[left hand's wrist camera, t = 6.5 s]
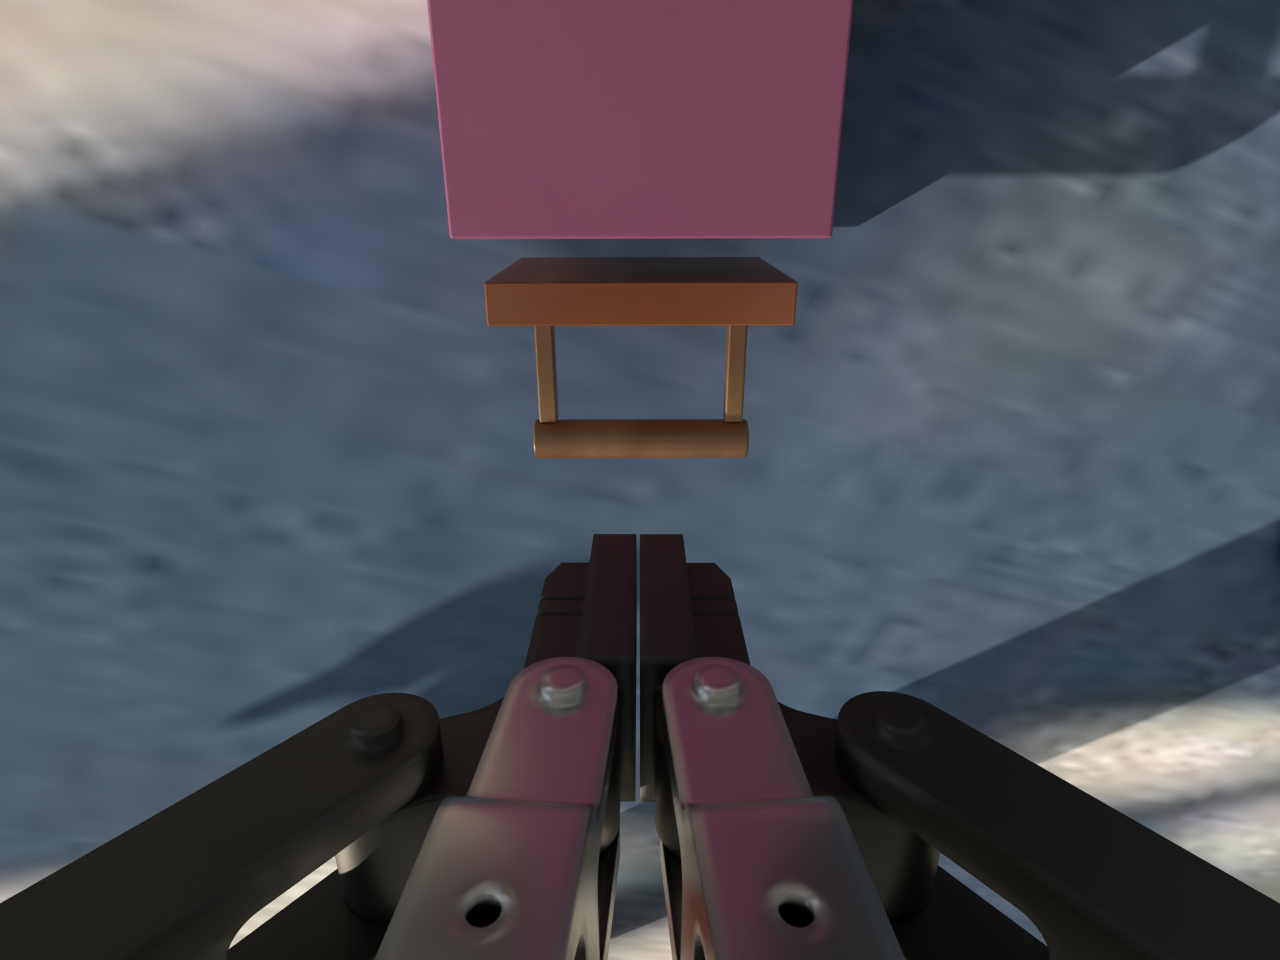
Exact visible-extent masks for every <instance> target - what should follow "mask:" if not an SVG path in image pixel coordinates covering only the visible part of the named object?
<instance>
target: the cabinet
mask: <svg viewBox="0 0 1280 960" xmlns="http://www.w3.org/2000/svg"><path fill="white" fill-rule="evenodd" d="M853 1H854V0H427V3H428V14H429V24H430V34H431V45H432V55H433V66H434V76H435V87H436V97H437V108H438V118H439V128H440V139H441V149H442V160H443V170H444V181H445V191H446V202H447V212H448V222H449V233H450V237H451V238H452V239H705V238H830V237H831V236H832V229H833V218H834V207H835V196H836V185H837V175H838V164H839V153H840V142H841V131H842V120H843V109H844V99H845V88H846V77H847V66H848V55H849V44H850V33H851V22H852V12H853Z"/></svg>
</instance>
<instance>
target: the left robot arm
mask: <svg viewBox="0 0 1280 960" xmlns="http://www.w3.org/2000/svg"><path fill="white" fill-rule="evenodd" d="M635 766H636V534H594V535H593V542H592V550H591V557H590V563H561V564H560V565H559V566H558V567H557V568H556V569H555V570H554V571H553V572H552V573H551V574H550V575H549V576H548V577H547V578H546V579H545V583H544V587H543V591H542V596H541V600H540V604H539V608H538V616H537V617H536V621H535V625H534V629H533V633H532V637H531V642H530V646H529V650H528V654H527V658H526V663H525V667H524V669H523V670H522V671H520V672H519V673H518V674H517V675H516V676H515V677H514V678H513V679H512V681H511V682H510V684H509V686H508V688H507V691H506V694H505V696H504V697H503V698H502V699H500V700H499V701H497V702H495V703H493V704H491V705H489V706H487V707H484V708H482V709H479V710H476V711H472V712H469V713H465V714H460V715H456V716H451V717H447V718H442V719H439V716H438V713H437V710H436V709H435V708H434V706H433V705H432V704H431V703H429V702H428V701H427V700H425V699H423V698H421V697H419V696H415V695H412V694H406V693H385V694H379V695H373V696H370V697H366V698H363V699H360V700H358V701H355V702H353V703H351V704H349V705H347V706H345V707H343V708H341V709H340V710H338V711H336V712H334V713H333V714H331V715H329V716H327V717H326V718H324V719H322V720H320V721H319V722H317V723H315V724H313V725H312V726H310V727H308V728H306V729H305V730H303V731H301V732H299V733H298V734H296V735H294V736H292V737H291V738H289V739H287V740H285V741H284V742H282V743H280V744H278V745H277V746H275V747H273V748H271V749H270V750H268V751H266V752H264V753H263V754H261V755H259V756H257V757H256V758H254V759H252V760H250V761H249V762H247V763H245V764H243V765H242V766H240V767H238V768H236V769H235V770H233V771H231V772H229V773H228V774H226V775H224V776H222V777H221V778H219V779H217V780H215V781H214V782H212V783H210V784H208V785H207V786H205V787H203V788H201V789H200V790H198V791H196V792H194V793H193V794H191V795H189V796H187V797H186V798H184V799H182V800H180V801H179V802H177V803H175V804H173V805H172V806H170V807H168V808H166V809H165V810H163V811H161V812H159V813H158V814H156V815H154V816H152V817H151V818H149V819H147V820H145V821H144V822H142V823H140V824H138V825H137V826H135V827H133V828H131V829H130V830H128V831H126V832H124V833H123V834H121V835H119V836H117V837H116V838H114V839H112V840H110V841H109V842H107V843H105V844H103V845H102V846H100V847H98V848H96V849H95V850H93V851H91V852H89V853H88V854H86V855H84V856H82V857H81V858H79V859H77V860H75V861H74V862H72V863H70V864H68V865H67V866H65V867H63V868H61V869H60V870H58V871H56V872H54V873H53V874H51V875H49V876H47V877H46V878H44V879H42V880H40V881H39V882H37V883H35V884H33V885H32V886H30V887H28V888H26V889H25V890H23V891H21V892H19V893H18V894H16V895H14V896H12V897H11V898H9V899H7V900H5V901H4V902H2V903H0V960H607V959H608V951H609V942H610V934H611V926H612V917H613V909H614V900H615V892H616V883H617V875H618V866H619V858H620V823H619V822H620V801H635ZM640 802H655V823H656V830H657V832H658V835H659V837H660V858H661V867H662V875H663V883H664V892H665V900H666V909H667V917H668V926H669V934H670V942H671V951H672V959H673V960H1280V903H1278V902H1276V901H1274V900H1273V899H1271V898H1269V897H1267V896H1266V895H1264V894H1262V893H1260V892H1259V891H1257V890H1255V889H1253V888H1252V887H1250V886H1248V885H1246V884H1245V883H1243V882H1241V881H1239V880H1238V879H1236V878H1234V877H1232V876H1231V875H1229V874H1227V873H1225V872H1224V871H1222V870H1220V869H1218V868H1217V867H1215V866H1213V865H1211V864H1210V863H1208V862H1206V861H1205V860H1203V859H1201V858H1199V857H1198V856H1196V855H1194V854H1192V853H1191V852H1189V851H1187V850H1185V849H1184V848H1182V847H1180V846H1178V845H1177V844H1175V843H1173V842H1171V841H1170V840H1168V839H1166V838H1164V837H1163V836H1161V835H1159V834H1157V833H1156V832H1154V831H1152V830H1150V829H1149V828H1147V827H1145V826H1143V825H1142V824H1140V823H1138V822H1136V821H1135V820H1133V819H1131V818H1129V817H1128V816H1126V815H1124V814H1122V813H1121V812H1119V811H1117V810H1115V809H1114V808H1112V807H1110V806H1108V805H1107V804H1105V803H1103V802H1101V801H1100V800H1098V799H1096V798H1094V797H1093V796H1091V795H1089V794H1087V793H1086V792H1084V791H1082V790H1080V789H1079V788H1077V787H1075V786H1073V785H1072V784H1070V783H1068V782H1066V781H1065V780H1063V779H1061V778H1059V777H1058V776H1056V775H1054V774H1052V773H1051V772H1049V771H1047V770H1045V769H1044V768H1042V767H1040V766H1038V765H1037V764H1035V763H1033V762H1031V761H1030V760H1028V759H1026V758H1024V757H1023V756H1021V755H1019V754H1017V753H1016V752H1014V751H1012V750H1010V749H1009V748H1007V747H1005V746H1003V745H1002V744H1000V743H998V742H996V741H995V740H993V739H991V738H989V737H988V736H986V735H984V734H982V733H981V732H979V731H977V730H975V729H974V728H972V727H970V726H968V725H967V724H965V723H963V722H961V721H960V720H958V719H956V718H954V717H953V716H951V715H949V714H947V713H946V712H944V711H942V710H940V709H939V708H937V707H935V706H933V705H931V704H929V703H927V702H926V701H924V700H921V699H918V698H916V697H913V696H909V695H906V694H902V693H896V692H886V691H876V692H868V693H863V694H860V695H857V696H855V697H853V698H851V699H850V700H848V701H847V702H846V703H845V704H844V705H843V707H842V708H841V710H840V712H839V716H838V720H835V719H831V718H827V717H822V716H818V715H813V714H809V713H805V712H801V711H798V710H795V709H792V708H790V707H787V706H785V705H783V704H781V703H779V702H778V701H777V699H776V696H775V694H774V691H773V688H772V686H771V684H770V682H769V681H768V679H767V678H766V677H765V676H764V675H763V674H762V673H761V672H760V671H758V670H757V669H755V668H754V667H752V666H750V661H749V657H748V653H747V648H746V644H745V640H744V635H743V631H742V627H741V622H740V618H739V616H738V609H737V605H736V600H735V596H734V592H733V587H732V583H731V579H730V578H729V577H728V576H727V575H726V574H725V573H724V572H723V571H722V570H721V569H720V568H719V567H718V566H717V565H716V564H715V563H686V557H685V549H684V541H683V535H682V534H640ZM940 852H941V853H942V854H944V855H945V856H946V857H948V858H949V859H950V860H952V861H953V862H955V863H956V864H957V865H959V866H960V867H961V868H963V869H964V870H966V871H967V872H968V873H970V874H971V875H972V876H974V877H975V878H977V879H978V880H979V881H981V882H982V883H983V884H985V885H986V886H988V887H989V888H990V889H992V890H993V891H994V892H996V893H997V894H999V895H1000V896H1001V897H1003V898H1004V899H1006V900H1007V901H1008V902H1010V903H1011V904H1012V905H1014V906H1015V907H1017V908H1018V909H1019V910H1020V911H1022V912H1023V913H1024V914H1025V915H1026V916H1027V917H1028V918H1029V919H1030V920H1031V921H1032V922H1033V923H1034V924H1035V926H1036V927H1037V928H1038V930H1039V931H1040V932H1041V934H1042V936H1043V938H1044V939H1045V942H1046V944H1047V946H1048V947H1047V946H1046V945H1045V944H1043V943H1042V942H1041V941H1039V940H1038V939H1037V938H1035V937H1034V936H1032V935H1031V934H1030V933H1028V932H1027V931H1026V930H1024V929H1023V928H1022V927H1020V926H1019V925H1018V924H1016V923H1015V922H1014V921H1012V920H1011V919H1010V918H1008V917H1007V916H1006V915H1004V914H1003V913H1002V912H1000V911H999V910H997V909H996V908H995V907H993V906H992V905H991V904H989V903H988V902H987V901H985V900H984V899H983V898H981V897H980V896H979V895H977V894H976V893H975V892H973V891H972V890H971V889H969V888H968V887H967V886H965V885H964V884H962V883H961V882H960V881H958V880H957V879H956V878H954V877H953V876H952V875H950V874H949V873H948V872H946V871H945V870H944V869H942V868H941V867H940V866H938V860H939V855H940ZM334 856H335V858H336V863H337V867H338V869H336V870H335V871H334V872H332V873H331V874H330V875H328V876H327V877H326V878H324V879H323V880H322V881H320V882H319V883H317V884H316V885H315V886H313V887H312V888H311V889H309V890H308V891H307V892H305V893H304V894H303V895H301V896H300V897H299V898H297V899H296V900H295V901H293V902H292V903H291V904H289V905H288V906H287V907H285V908H284V909H283V910H281V911H280V912H278V913H277V914H276V915H274V916H273V917H272V918H270V919H269V920H268V921H266V922H265V923H264V924H262V925H261V926H260V927H258V928H257V929H256V930H254V931H253V932H252V933H250V934H249V935H248V936H246V937H245V938H243V939H242V940H241V941H239V942H238V943H237V944H235V945H234V946H233V947H231V948H230V949H229V947H230V944H231V942H232V940H233V939H234V937H235V935H236V934H237V932H238V931H239V930H240V928H241V927H242V926H243V925H244V924H245V923H246V922H247V921H248V920H249V919H250V918H251V917H252V916H253V915H254V914H255V913H257V912H258V911H259V910H261V909H262V908H263V907H265V906H266V905H268V904H269V903H270V902H272V901H273V900H274V899H276V898H277V897H279V896H280V895H281V894H283V893H284V892H285V891H287V890H288V889H290V888H291V887H292V886H294V885H295V884H296V883H298V882H299V881H301V880H302V879H303V878H305V877H306V876H307V875H309V874H310V873H312V872H313V871H314V870H316V869H317V868H318V867H320V866H321V865H323V864H324V863H325V862H327V861H328V860H330V859H331V858H332V857H334ZM228 949H229V950H228Z"/></svg>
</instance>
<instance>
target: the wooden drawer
mask: <svg viewBox="0 0 1280 960" xmlns="http://www.w3.org/2000/svg"><path fill="white" fill-rule="evenodd" d="M797 285H798V283H797V282H796V281H795V280H793V279H792V278H790V277H789V276H787V275H786V274H784V273H782V272H781V271H779V270H778V269H776V268H775V267H773V266H772V265H770V264H769V263H767V262H766V261H764V260H762V259H761V258H759V257H602V258H521V259H519V260H518V261H516V262H515V263H514V264H512V265H511V266H509V267H508V268H506V269H505V270H503V271H502V272H500V273H499V274H497V275H496V276H494V277H493V278H491V279H490V280H488V281H487V282H485V283H484V289H485V301H486V313H487V324H488V326H534V333H535V351H536V368H537V386H538V404H539V420H536V421H535V424H534V430H533V446H534V453H535V456H536V458H745V457H746V456H747V453H748V446H749V430H748V423H747V421H746V420H745V419H743V400H744V381H745V363H746V344H747V325H794V324H795V311H796V298H797ZM693 325H727V343H726V367H725V390H724V414H723V416H724V419H601V420H557V419H558V396H557V374H556V353H555V331H554V326H693Z"/></svg>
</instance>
